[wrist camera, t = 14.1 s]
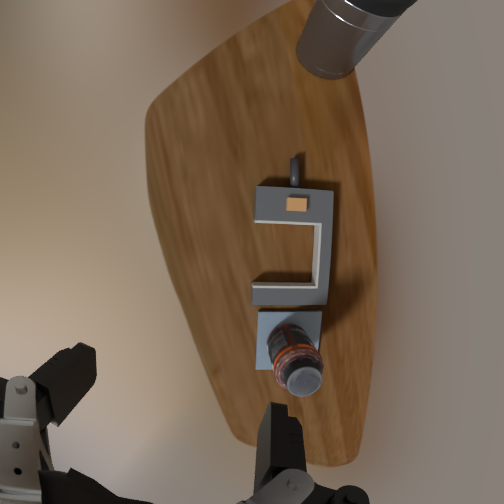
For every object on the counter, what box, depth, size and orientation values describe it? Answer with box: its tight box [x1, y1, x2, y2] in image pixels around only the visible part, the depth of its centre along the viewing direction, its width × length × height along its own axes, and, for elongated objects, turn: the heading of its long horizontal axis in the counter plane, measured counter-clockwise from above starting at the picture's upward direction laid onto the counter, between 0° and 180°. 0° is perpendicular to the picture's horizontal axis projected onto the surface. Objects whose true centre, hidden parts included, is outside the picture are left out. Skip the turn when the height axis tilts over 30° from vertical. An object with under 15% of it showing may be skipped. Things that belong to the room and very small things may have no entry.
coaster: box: [255, 310, 322, 370], centre depth 40 cm, size 9×9×1 cm
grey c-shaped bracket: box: [251, 158, 334, 305], centre depth 37 cm, size 19×10×3 cm, turn 178°
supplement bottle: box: [267, 323, 324, 396], centre depth 34 cm, size 6×6×11 cm
